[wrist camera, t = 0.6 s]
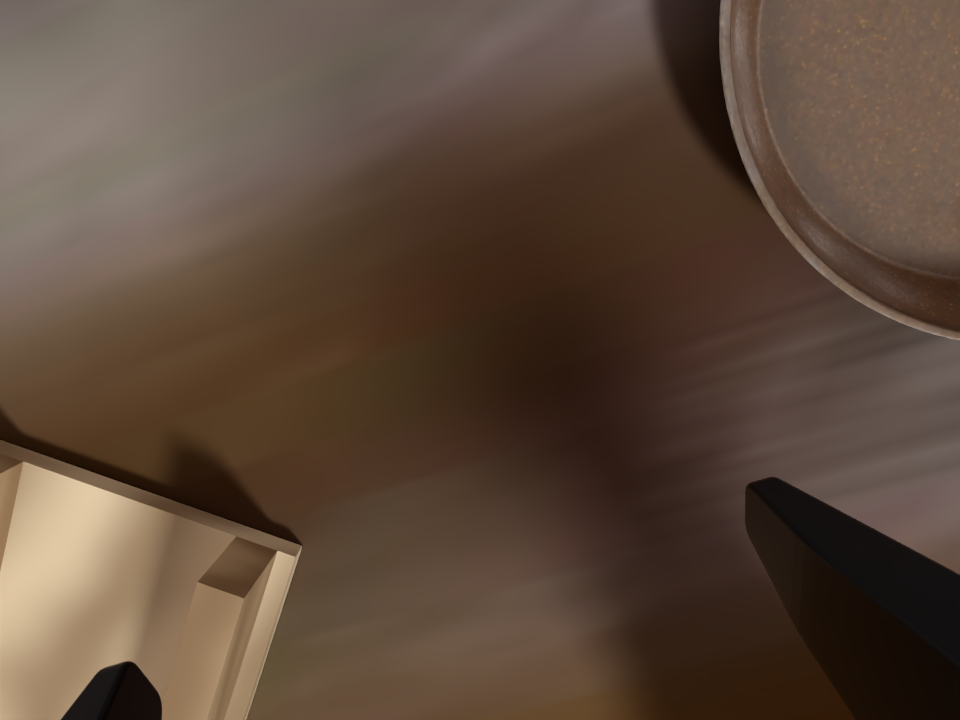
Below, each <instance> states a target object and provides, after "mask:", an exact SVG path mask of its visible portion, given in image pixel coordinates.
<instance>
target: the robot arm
mask: <svg viewBox="0 0 960 720" xmlns="http://www.w3.org/2000/svg"><path fill="white" fill-rule="evenodd" d="M745 524H746V529H747V533H748V535H749V538H750V540H751V542H752V544H753V546H754V548H755V550H756V552H757V554H758V555H759V557H760V559H761V561H762V563H763V565H764V567H765V569H766V571H767V573H768V575H769V577H770V579H771V581H772V583H773V585H774V587H775V589H776V590H777V592H778V594H779V596H780V598H781V600H782V602H783V604H784V606H785V608H786V610H787V612H788V614H789V616H790V618H791V619H792V621H793V623H794V625H795V627H796V629H797V631H798V632H799V634H800V636H801V637H802V639H803V640H804V642H805V644H806V645H807V647H808V648H809V650H810V651H811V653H812V654H813V656H814V657H815V659H816V660H817V662H818V664H819V665H820V667H821V668H822V670H823V671H824V673H825V674H826V676H827V677H828V679H829V680H830V682H831V683H832V685H833V686H834V688H835V689H836V691H837V692H838V694H839V695H840V697H841V698H842V700H843V701H844V703H845V704H846V706H847V708H848V709H849V711H850V712H851V714H852V715H853V717H854V718H855V720H960V574H958V573H956V572H954V571H952V570H950V569H948V568H946V567H945V566H943V565H941V564H939V563H937V562H935V561H933V560H931V559H929V558H928V557H926V556H924V555H922V554H920V553H918V552H916V551H914V550H913V549H911V548H909V547H907V546H905V545H903V544H901V543H899V542H897V541H896V540H894V539H892V538H890V537H888V536H886V535H884V534H882V533H881V532H879V531H877V530H875V529H873V528H871V527H869V526H867V525H865V524H864V523H862V522H860V521H858V520H856V519H854V518H852V517H850V516H849V515H847V514H845V513H843V512H841V511H839V510H837V509H835V508H834V507H832V506H830V505H828V504H826V503H824V502H822V501H820V500H818V499H817V498H815V497H813V496H811V495H809V494H807V493H805V492H803V491H802V490H800V489H798V488H796V487H794V486H792V485H790V484H788V483H786V482H785V481H783V480H781V479H779V478H775V477H769V478H765V479H762V480H758V481H755V482H751V483H749V484H748V485H747V487H746V491H745ZM61 720H162V702H161V698H160V695H159V693H158V691H157V690H156V689H155V687H154V686H153V685H152V684H151V682H150V681H149V680H148V678H147V677H146V676H145V675H144V673H143V672H142V671H141V670H140V668H139V667H138V666H137V665H136V664H135V663H133V662H131V661H125V662H122V663H118V664H115V665H111V666H108V667H105V668H103V669H101V670H100V671H98V672H97V673H96V675H95V676H94V677H93V678H92V680H91V681H90V682H89V683H88V685H87V686H86V687H85V689H84V690H83V691H82V692H81V694H80V695H79V696H78V698H77V699H76V700H75V701H74V703H73V704H72V705H71V707H70V708H69V709H68V711H67V712H66V713H65V714H64V716H63V717H62V718H61Z"/></svg>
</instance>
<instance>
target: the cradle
mask: <svg viewBox="0 0 960 720" xmlns="http://www.w3.org/2000/svg"><path fill="white" fill-rule="evenodd" d="M301 549H302V546H301V545H298V544H295V543H293V542H290V541H287V540H284V539H281V538H278V537H275V536H273V535H270V534H267V533H264V532H261V531H258V530H256V529H253V528H250V527H247V526H244V525H241V524H238V523H236V522H233V521H230V520H227V519H224V518H221V517H219V516H216V515H213V514H210V513H207V512H204V511H201V510H199V509H196V508H193V507H190V506H187V505H184V504H182V503H179V502H176V501H173V500H170V499H167V498H165V497H162V496H159V495H156V494H153V493H150V492H147V491H145V490H142V489H139V488H136V487H133V486H130V485H128V484H125V483H122V482H119V481H116V480H113V479H110V478H108V477H105V476H102V475H99V474H96V473H93V472H91V471H88V470H85V469H82V468H79V467H76V466H73V465H71V464H68V463H65V462H62V461H59V460H56V459H54V458H51V457H48V456H45V455H42V454H39V453H36V452H34V451H31V450H28V449H25V448H22V447H19V446H17V445H14V444H11V443H8V442H5V441H2V440H0V720H61V718H62V717H63V716H64V714H65V713H66V712H67V711H68V709H69V708H70V707H71V705H72V704H73V703H74V701H75V700H76V699H77V698H78V696H79V695H80V694H81V692H82V691H83V690H84V689H85V687H86V686H87V685H88V683H89V682H90V681H91V680H92V678H93V677H94V676H95V675H96V673H97V672H98V671H100V670H101V669H103V668H105V667H108V666H111V665H115V664H118V663H122V662H125V661H131V662H133V663H135V664H136V665H137V666H138V667H139V668H140V670H141V671H142V672H143V673H144V675H145V676H146V677H147V678H148V680H149V681H150V682H151V684H152V685H153V686H154V687H155V689H156V690H157V691H158V693H159V695H160V698H161V702H162V720H246V719H247V716H248V713H249V710H250V707H251V703H252V700H253V697H254V694H255V691H256V688H257V685H258V682H259V679H260V676H261V673H262V669H263V666H264V663H265V660H266V657H267V654H268V651H269V648H270V645H271V642H272V639H273V635H274V632H275V629H276V626H277V623H278V620H279V617H280V614H281V611H282V608H283V604H284V601H285V598H286V595H287V592H288V589H289V586H290V583H291V580H292V577H293V574H294V570H295V567H296V564H297V561H298V558H299V555H300V552H301Z"/></svg>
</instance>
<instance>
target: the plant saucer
mask: <svg viewBox="0 0 960 720" xmlns="http://www.w3.org/2000/svg"><path fill="white" fill-rule="evenodd" d="M719 50H720V64H721V74H722V83H723V90H724V97H725V102H726V107H727V112H728V116H729V120H730V124H731V128H732V132H733V135H734V139H735V142H736V145H737V147H738V150H739V153H740V156H741V159H742V162H743V164H744V167H745V169H746V171H747V173H748V176H749V178H750V180H751V182H752V184H753V186H754V188H755V190H756V192H757V194H758V196H759V197H760V199H761V201H762V203H763V205H764V207H765V208H766V210H767V211H768V213H769V214H770V216H771V217H772V219H773V220H774V222H775V223H776V225H777V226H778V228H779V229H780V230H781V232H782V233H783V234H784V236H785V237H786V238H787V239H788V241H789V242H790V243H791V244H792V245H793V246H794V248H795V249H796V250H797V251H798V252H799V253H800V254H801V255H802V257H803V258H804V259H805V260H806V261H808V262H809V263H810V264H811V265H812V266H813V267H814V268H815V269H816V270H817V271H818V272H819V273H821V274H822V275H823V276H824V277H825V278H827V279H828V280H829V281H830V282H831V283H833V284H834V285H835V286H837V287H838V288H840V289H841V290H842V291H844V292H845V293H846V294H848V295H849V296H851V297H852V298H854V299H856V300H857V301H859V302H860V303H862V304H864V305H865V306H867V307H869V308H871V309H873V310H874V311H876V312H878V313H880V314H882V315H884V316H886V317H889V318H891V319H893V320H895V321H898V322H900V323H902V324H905V325H907V326H910V327H913V328H915V329H918V330H921V331H924V332H928V333H931V334H934V335H938V336H942V337H946V338H949V339H954V340H960V0H721V1H720V16H719Z"/></svg>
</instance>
